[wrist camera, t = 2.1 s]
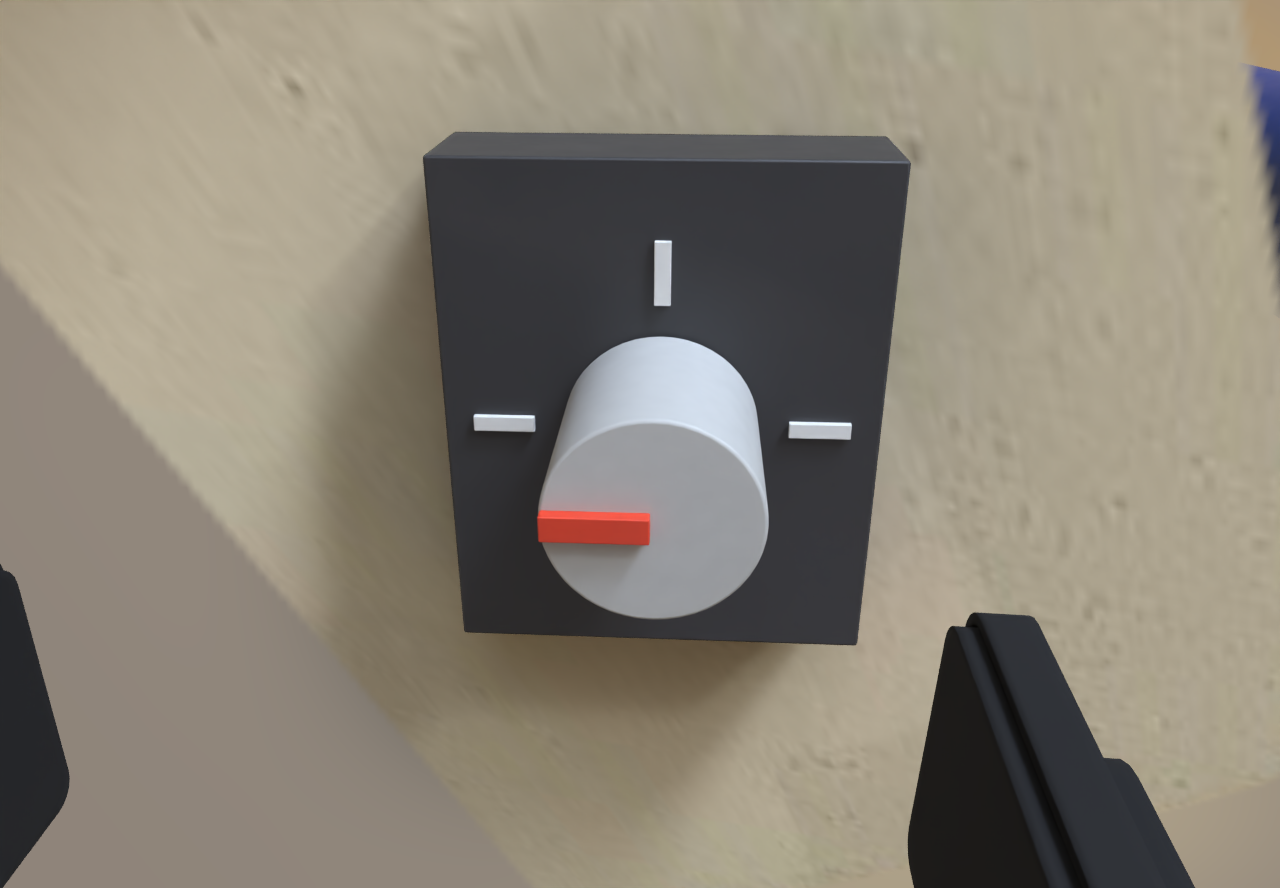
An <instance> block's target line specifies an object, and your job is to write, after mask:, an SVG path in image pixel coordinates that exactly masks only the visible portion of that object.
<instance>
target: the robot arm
mask: <svg viewBox="0 0 1280 888" xmlns="http://www.w3.org/2000/svg"><path fill="white" fill-rule="evenodd" d="M68 789H69V770H68V767H67V763H66V759H65V756H64V752H63V748H62V745H61V741H60V738H59V734H58V730H57V726H56V723H55V719H54V716H53V712H52V708H51V704H50V701H49V697H48V693H47V690H46V686H45V682H44V679H43V675H42V671H41V668H40V664H39V660H38V656H37V653H36V649H35V645H34V642H33V638H32V635H31V631H30V627H29V623H28V620H27V616H26V612H25V609H24V605H23V602H22V598H21V594H20V590H19V587H18V584H17V581H16V579H15V577H14V576H13V575H12V574H11V573H10V572H7V571H4V570H3V568H2V566H1V564H0V888H3V887H4V885H5V884H6V882H7V881H8V880H9V879H10V877H11V876H12V874H13V873H14V872H15V870H16V869H17V868H18V866H19V865H20V864H21V862H22V861H23V860H24V858H25V857H26V856H27V854H28V853H29V852H30V850H31V849H32V847H33V846H34V845H35V844H36V842H37V841H38V840H39V838H40V837H41V836H42V834H43V833H44V831H45V830H46V829H47V827H48V826H49V825H50V823H51V822H52V821H53V819H54V818H55V817H56V815H57V814H58V813H59V811H60V809H61V808H62V806H63V804H64V802H65V799H66V797H67V793H68ZM908 858H909V866H910V871H911V875H912V880H913V885H914V888H1195V887H1194V885H1193V883H1192V881H1191V879H1190V877H1189V875H1188V873H1187V871H1186V869H1185V867H1184V866H1183V864H1182V861H1181V860H1180V858H1179V856H1178V854H1177V852H1176V850H1175V848H1174V846H1173V844H1172V842H1171V840H1170V838H1169V836H1168V834H1167V832H1166V830H1165V829H1164V827H1163V825H1162V823H1161V821H1160V819H1159V817H1158V815H1157V813H1156V811H1155V809H1154V807H1153V805H1152V803H1151V801H1150V799H1149V798H1148V796H1147V794H1146V792H1145V790H1144V788H1143V786H1142V784H1141V782H1140V780H1139V778H1138V777H1137V775H1136V774H1135V772H1134V771H1133V769H1132V768H1131V766H1130V765H1129V764H1127V763H1126V762H1124V761H1123V760H1121V759H1112V758H1103V756H1102V754H1101V752H1100V750H1099V748H1098V746H1097V744H1096V742H1095V740H1094V737H1093V735H1092V733H1091V731H1090V729H1089V727H1088V725H1087V723H1086V721H1085V719H1084V717H1083V715H1082V713H1081V711H1080V709H1079V707H1078V705H1077V702H1076V700H1075V698H1074V696H1073V694H1072V692H1071V690H1070V688H1069V686H1068V684H1067V682H1066V680H1065V678H1064V676H1063V674H1062V672H1061V670H1060V668H1059V665H1058V663H1057V661H1056V659H1055V657H1054V655H1053V653H1052V651H1051V649H1050V647H1049V645H1048V643H1047V641H1046V639H1045V637H1044V635H1043V633H1042V630H1041V628H1040V626H1039V624H1038V623H1037V621H1036V620H1035V618H1034V617H1031V616H1026V615H1009V614H992V613H972V614H971V615H970V616H969V618H968V620H967V623H966V626H965V627H959V626H952V627H950V628H949V630H948V632H947V635H946V638H945V643H944V648H943V654H942V659H941V664H940V669H939V674H938V680H937V685H936V690H935V695H934V700H933V705H932V711H931V716H930V721H929V726H928V731H927V737H926V742H925V747H924V752H923V757H922V763H921V768H920V773H919V778H918V783H917V788H916V794H915V799H914V804H913V809H912V814H911V820H910V825H909V832H908Z"/></svg>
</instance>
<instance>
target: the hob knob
mask: <svg viewBox="0 0 1280 888" xmlns="http://www.w3.org/2000/svg"><path fill="white" fill-rule="evenodd" d="M537 526H538V541H539V542H542V544H543V547H544V549H545V551H546V554H547V556H548V558H549V560H550V561H551V563H552V565H553V566H554V568H555V570H556V571H557V572H558V573H559V575H560V576H561V577H562V578H563V580H564V581H565V582H566V583H567V584H568V585H569V586H570V587H571V588H572V589H573V590H575V591H576V592H577V593H579V594H580V595H581V596H582V597H584V598H585V599H587V600H589V601H590V602H592V603H594V604H595V605H597V606H599V607H602V608H604V609H606V610H608V611H611V612H614V613H617V614H621V615H624V616H629V617H634V618H641V619H671V618H679V617H684V616H688V615H692V614H695V613H698V612H700V611H703V610H706V609H708V608H710V607H712V606H714V605H716V604H718V603H720V602H721V601H723V600H724V599H726V598H727V597H729V596H730V595H731V594H732V593H734V592H735V591H736V590H737V589H738V588H739V587H740V586H741V585H742V584H743V583H744V582H745V581H746V579H747V578H748V577H749V576H750V575H751V573H752V572H753V570H754V569H755V567H756V566H757V564H758V562H759V560H760V558H761V555H762V553H763V551H764V547H765V544H766V541H767V535H768V528H769V513H768V504H767V496H766V487H765V478H764V470H763V461H762V452H761V444H760V435H759V426H758V418H757V412H756V406H755V403H754V400H753V397H752V394H751V392H750V390H749V388H748V386H747V384H746V383H745V381H744V380H743V378H742V377H741V375H740V374H739V373H738V372H737V371H736V369H735V368H734V367H733V366H732V365H731V364H730V363H729V362H727V361H726V360H725V359H724V358H723V357H721V356H720V355H718V354H717V353H715V352H714V351H712V350H710V349H708V348H706V347H704V346H702V345H700V344H697V343H694V342H691V341H688V340H684V339H679V338H673V337H647V338H641V339H635V340H632V341H629V342H625V343H622V344H620V345H618V346H616V347H613V348H611V349H610V350H608V351H607V352H605V353H603V354H602V355H600V356H599V357H598V358H597V359H595V360H594V361H593V362H592V363H591V364H590V365H589V366H588V367H587V368H586V369H585V370H584V371H583V373H582V374H581V375H580V377H579V378H578V380H577V381H576V383H575V385H574V387H573V389H572V391H571V393H570V396H569V399H568V402H567V406H566V409H565V412H564V416H563V419H562V423H561V426H560V430H559V433H558V436H557V440H556V443H555V447H554V450H553V453H552V457H551V460H550V464H549V467H548V470H547V474H546V477H545V481H544V484H543V488H542V491H541V495H540V500H539V506H538V517H537Z"/></svg>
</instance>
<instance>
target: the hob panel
mask: <svg viewBox="0 0 1280 888" xmlns="http://www.w3.org/2000/svg"><path fill="white" fill-rule="evenodd" d="M423 164H424V176H425V187H426V199H427V210H428V221H429V233H430V244H431V256H432V267H433V279H434V290H435V302H436V313H437V325H438V336H439V347H440V359H441V370H442V382H443V393H444V405H445V416H446V428H447V439H448V451H449V462H450V474H451V485H452V496H453V508H454V519H455V531H456V542H457V554H458V565H459V577H460V588H461V600H462V611H463V622H464V631H465V632H472V633H502V634H531V635H561V636H591V637H620V638H650V639H680V640H710V641H739V642H769V643H799V644H828V645H856V644H857V639H858V630H859V621H860V612H861V604H862V595H863V586H864V577H865V568H866V559H867V550H868V541H869V532H870V523H871V514H872V505H873V497H874V488H875V479H876V470H877V461H878V452H879V443H880V434H881V425H882V416H883V407H884V398H885V389H886V381H887V372H888V363H889V354H890V345H891V336H892V327H893V318H894V309H895V300H896V291H897V282H898V273H899V265H900V256H901V247H902V238H903V229H904V220H905V211H906V202H907V193H908V184H909V175H910V166H911V163H910V161H909V160H908V159H907V158H906V157H905V156H904V155H903V153H902V152H901V151H900V150H899V149H898V148H897V147H896V146H895V145H894V144H893V143H892V142H891V141H890V140H889V139H888V138H887V137H882V136H786V135H690V134H593V133H497V132H455V133H453V134H451V135H450V136H449V137H448V138H446V139H445V140H444V141H442V142H441V143H440V144H438V145H437V146H436V147H435V148H433V149H432V150H431V151H429V152H428V153H427V154H425V155H424V157H423ZM647 337H673V338H679V339H684V340H688V341H691V342H694V343H697V344H700V345H702V346H704V347H706V348H708V349H710V350H712V351H714V352H715V353H717V354H718V355H720V356H721V357H723V358H724V359H725V360H726V361H727V362H729V363H730V364H731V365H732V366H733V367H734V368H735V369H736V371H737V372H738V373H739V374H740V375H741V377H742V378H743V380H744V381H745V383H746V384H747V386H748V388H749V390H750V392H751V394H752V397H753V400H754V403H755V406H756V412H757V418H758V426H759V435H760V444H761V452H762V461H763V470H764V478H765V487H766V496H767V504H768V513H769V528H768V535H767V541H766V544H765V547H764V551H763V553H762V555H761V558H760V560H759V562H758V564H757V566H756V567H755V569H754V570H753V572H752V573H751V575H750V576H749V577H748V578H747V579H746V581H745V582H744V583H743V584H742V585H741V586H740V587H739V588H738V589H737V590H736V591H735V592H734V593H732V594H731V595H730V596H729V597H727V598H726V599H724V600H723V601H721V602H720V603H718V604H716V605H714V606H712V607H710V608H708V609H706V610H703V611H700V612H698V613H695V614H692V615H688V616H684V617H679V618H671V619H641V618H634V617H629V616H624V615H621V614H617V613H614V612H611V611H608V610H606V609H604V608H602V607H599V606H597V605H595V604H594V603H592V602H590V601H589V600H587V599H585V598H584V597H582V596H581V595H580V594H579V593H577V592H576V591H575V590H573V589H572V588H571V587H570V586H569V585H568V584H567V583H566V582H565V581H564V580H563V578H562V577H561V576H560V575H559V573H558V572H557V571H556V570H555V568H554V566H553V565H552V563H551V561H550V560H549V558H548V556H547V554H546V551H545V549H544V547H543V544H542V542H539V541H538V526H537V517H538V506H539V500H540V495H541V491H542V488H543V484H544V481H545V477H546V474H547V470H548V467H549V464H550V460H551V457H552V453H553V450H554V447H555V443H556V440H557V436H558V433H559V430H560V426H561V423H562V419H563V416H564V412H565V409H566V406H567V402H568V399H569V396H570V393H571V391H572V389H573V387H574V385H575V383H576V381H577V380H578V378H579V377H580V375H581V374H582V373H583V371H584V370H585V369H586V368H587V367H588V366H589V365H590V364H591V363H592V362H593V361H594V360H595V359H597V358H598V357H599V356H600V355H602V354H603V353H605V352H607V351H608V350H610V349H611V348H613V347H616V346H618V345H620V344H622V343H625V342H629V341H632V340H635V339H641V338H647Z"/></svg>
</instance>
